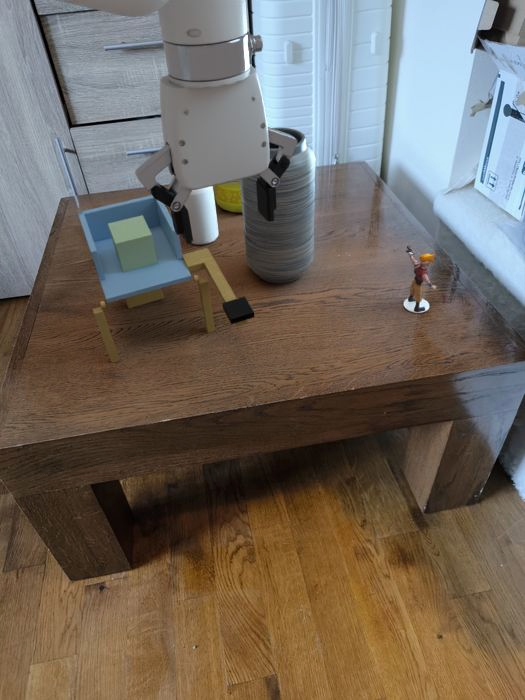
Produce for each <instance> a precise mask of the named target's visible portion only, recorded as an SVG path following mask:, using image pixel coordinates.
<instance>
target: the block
mask: <svg viewBox="0 0 525 700" xmlns="http://www.w3.org/2000/svg"><path fill="white" fill-rule="evenodd" d="M108 227H109V230H110V234H111V237H112V241H113V244H114V248H115V251H116V254H117V257H118V259H119V262H120V265H121V267H122V270H123V272H127V271H130V270H134V269H138V268H142V267H145V266H149V265H153V264H157V263H158V262H157V257H156V252H155V248H154V243H153V238H152V234H151V232H150V230H149V228H148V226H147V223H146V221H145V219H144V217H143V215H142V216H138V217H133V218H129V219H125V220H121V221H117V222H113V223H109V224H108Z"/></svg>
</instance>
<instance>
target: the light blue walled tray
mask: <svg viewBox="0 0 525 700" xmlns="http://www.w3.org/2000/svg"><path fill="white" fill-rule="evenodd" d="M142 215H143V217H144V219H145V221H146V223H147V226H148V228H149V230H150V232H151V234H152V238H153V243H154V248H155V252H156V257H157V262H158V263H157V264H153V265H149V266H145V267H142V268H138V269H134V270H130V271H127V272H123V270H122V267H121V265H120V262H119V259H118V257H117V254H116V251H115V248H114V244H113V241H112V237H111V234H110V230H109V227H108V224H109V223H113V222H117V221H121V220H125V219H129V218H133V217H138V216H142ZM77 216H78V218H79V221H80V224H81V227H82V231H83V234H84V236H85V239H86V242H87V246H88V249H89V252H90V255H91V258H92V261H93V264H94V267H95V270H96V273H97V276H98V279H99V282H100V285H101V288H102V291H103V295H104V297H105V300H106V303H107V304H110V303H113V302H118V301H121V300H125V298H128V297H131V296H135V295H139V294H142V293H146V292H149V291H153V290H156V289H160V288H162V289H163V288H166V287H167V288H168V287H169V286H174V285H178V284H181V283H185V282H188V281H192V280H193V276H192V274H191V273H194V272H197V271H201V270H205V273H206V274H207V276H208V278H209V280H210V282H211V284H212V285H213V287H214V289H215V291H216V292H217V293H218V296H219V297H220V299H221V302H222V303H221V305H222V310H223V312H224V314H225V316H226V318H227V319H228V321H229V323H230V325H233V324H234V325H235V327H237V326H241V325H244V324H247V323H248V320H250V319H253V318H255V310H254V308H253V306H251V304H250V303H249V301H248V299H247V297H246V296H241V297H238V298H237V296H236V295H235V293H234V291H233V289H232V287H231V286H230V284H229V283H228V281H227V279H226V277H225V275H224V274H223V272H222V270H221V268H220V267H219V264H217V262H216V260H215V257H213V255H212V253H211V251H210V250H209V248H208V247H206V248H202V249H198V250H194V251H190V252H186V253H183V252H182V245H181V240H180V235H177V234H176V232H175V230H174V226H173V221H172V216H171V213H170V212H169V211H168V208H167V207H166V205H165V204H163V203H161V202H160V201H158V200H156V199H155V198H154V197H153V196H152V195H151V194H150V195H146V196H142V197H138V198H133V199H129V200H125V201H121V202H116V203H112V204H108V205H104V206H99V207H94V208H90V209H86V210H81V211H78V212H77Z"/></svg>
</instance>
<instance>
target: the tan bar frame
mask: <svg viewBox="0 0 525 700" xmlns="http://www.w3.org/2000/svg"><path fill="white" fill-rule="evenodd" d="M192 280H193V282H194V283H197V286H198V290H199V297H200V303H201V310H202V314H203V319H204V320H203V321H204V327H205V330H206V332H207V334H210V333H214V332H216V326H215V320H214V312H213V306H212V299H211V293H210V288H209V287H210V286H209V281H208V279H207V278H206V277H205V276H204V277H201V278H199V275H198V274H194V275H192ZM164 299H165V297H164V293H163V288H160V289H156V290H153V291H149V292H146V293H142V294H139V295H135V296H131V297H128V298H124V300H125V302H126V305H127V308H128V309H131V308H132V309H133V308H135V307H136V308H137V307H139V306H142V305H146V304H149V303H153V302H156V301H160V300H164ZM99 304H100V306H98V307H95V308H94V307H93V308H92V312H93V315H94V318H95V321H96V324H97V326H98V330H99V332H100V336H101V338H102V341H103V345H104V347H105V349H106V351H107V355H108V358H109V360H110V363H111V364H113V363H117V362H119V361H120V357H119V355H118V354H119V353H118V352H117V348H116V345H115V343H114V340H113V337H112V333H111V331H110V327H109V324H108V322H107V319H106V316H105V313H104V309H106V308H107V305H106V302H105V300H101V301H99Z"/></svg>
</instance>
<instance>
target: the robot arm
mask: <svg viewBox="0 0 525 700" xmlns="http://www.w3.org/2000/svg"><path fill="white" fill-rule="evenodd" d="M57 1H59V2H63V3H66V4H71V5H75V6H79V7H82V8H83V7H84V8H88V9H91V10H96V11H100V12H104V13H108V14H112V15H113V14H114V15H117V16H121V17H127V18H136V17H137V18H138V17H145V16H147V15H151V14H152V13H156V11H157V13H158V20H159V26H160V32H161V38H162V44H163V51H164V56H165V62H166V69H167V75H163V76H162V77H160V82H159V101H160V103H159V105H160V120H161V128H162V130H161V131H162V137H163V138H162V139H163V146H162V147H161V148H160V149H159V150H158V151H156V152H155V153H154V154H153V155H152V156H150V157H149V158H148V159H147V160H146V161H145V162H143V163H142V164H141V165H139V166H138V167H137V168H136V169H135V171H134V173H135V176H136V178H137V179H138V181H139V182H140V184H141V185H142V186H143V187H144V188H145V190H147V191H148V192H149V194H150V195H152V196H153V197H154V198H155V199H156V200H158V201H160V202H161V203H163V204H164V205H165V207H166V206H167V207H168V208H169V210H170V216H171V218H172V221H173V226H174V230H175V232H176V234H177V235H179V236H180V235H181V236H182V238H183V241H185V243H186V244H187V245H190V244H192V241H193V236H192V230H191V224H190V218H189V212H188V210H187V208H186V207H185V205H184V204H185V202H186V200H187V198H188V197H189V195H190V193H191V191H192V190H197V189H202V188H206V187H211V186H213V187H215V185H219V184H223V183H228V182H232V181H236V180H240V179H244V178H248V177H252V176H255V175H258V174H259V175H260V178H258V179H257V181H256V189H257V204H258V211H259V213H260V214H261V215H262V216H263V217H264V218H265V219H266V220H267V221H269V222H271V221H274V210H275V209H276V187H277V186H278V185H279V183H280V178H281V176H282V175H283V174H284V172H285V171H286V170H287V168H288V167H289V165H290V158H292V155H293V153H294V150H295V148H296V146H297V139H295V138H294V137H293V136H292V135H290V134H287V133H284V132H281V131H278V130H276V129H273V128H274V127H270V126H268V120H267V114H266V113H267V112H266V107H265V102H264V97H263V92H262V88H261V83H260V80H259V75H258V72H257V69H256V68H255V67H254V66H253V65H252V64H253V60H252V59H253V55H255V54H256V53H260V52H262V51H263V49H264V44H263V38H262V36H261V35H260V34H257V35H253V34H251V32H250V31H249V30H248V29H249V28H248V16H247V15H248V14H247V0H57ZM269 142H270V143H273V144H276V145H279V149H278V153H277V154H276V155H275V156H274V158H273V159H272V160H271V162H270V163H269V161H270V148H269ZM166 168H167V169H168V171H169V174H170V175H171V176H173V177H172V179H171V181H170V183H169V184H168V186H167V187H165V186H164V185H162V184H160V183H159V182H158V181H157V180H156V177H157V176H158V175H159V174H160V173H161V172H162V171H163V170H165V169H166Z"/></svg>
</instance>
